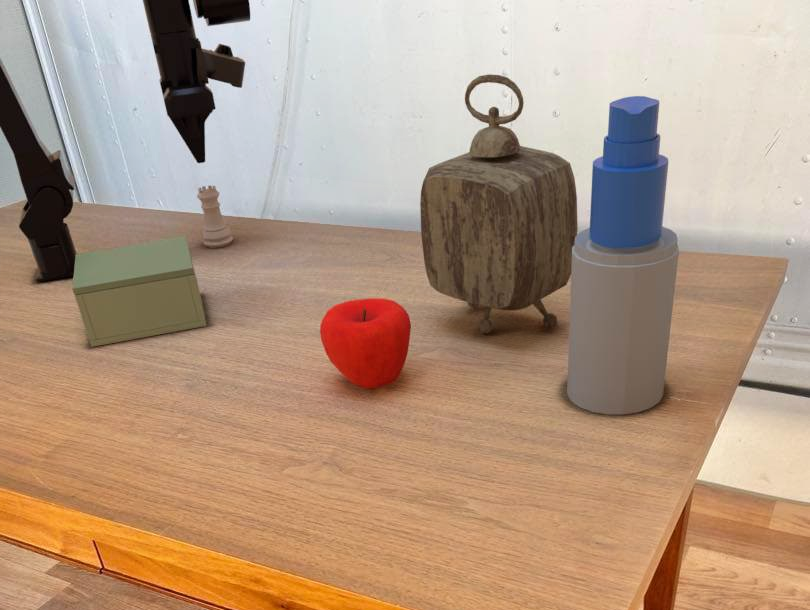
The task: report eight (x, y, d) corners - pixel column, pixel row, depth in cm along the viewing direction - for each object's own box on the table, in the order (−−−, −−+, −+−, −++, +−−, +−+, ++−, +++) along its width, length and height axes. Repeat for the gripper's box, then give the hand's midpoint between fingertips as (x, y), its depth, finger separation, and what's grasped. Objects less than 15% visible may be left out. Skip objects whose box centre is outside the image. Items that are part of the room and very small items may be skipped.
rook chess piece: (198, 247, 126) (185, 192, 121) (214, 237, 129) (202, 183, 124) (223, 249, 124) (211, 192, 120) (239, 239, 128) (228, 183, 123)
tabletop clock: (574, 326, 93) (583, 69, 78) (524, 357, 88) (523, 89, 73) (471, 300, 101) (462, 63, 86) (421, 327, 96) (401, 81, 81)
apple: (311, 391, 86) (298, 317, 81) (362, 356, 91) (353, 285, 87) (382, 409, 81) (373, 333, 77) (431, 371, 87) (426, 298, 82)
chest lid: (77, 260, 104) (75, 254, 104) (187, 242, 107) (186, 235, 106) (74, 295, 96) (72, 288, 95) (194, 274, 98) (192, 267, 97)
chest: (94, 314, 108) (78, 266, 104) (200, 295, 110) (189, 247, 106) (91, 347, 100) (74, 295, 96) (206, 326, 102) (194, 274, 98)
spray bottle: (575, 367, 85) (586, 90, 70) (667, 373, 82) (699, 87, 67) (558, 410, 78) (566, 115, 63) (657, 418, 76) (691, 112, 61)
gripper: (241, 30, 104) (264, 164, 114) (227, 17, 119) (248, 137, 128) (150, 42, 102) (181, 177, 112) (147, 27, 117) (175, 148, 126)
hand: (200, 158), depth 120 cm, fingers open, 5 cm apart
